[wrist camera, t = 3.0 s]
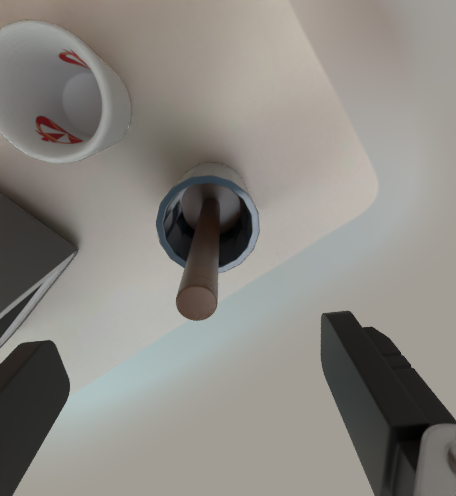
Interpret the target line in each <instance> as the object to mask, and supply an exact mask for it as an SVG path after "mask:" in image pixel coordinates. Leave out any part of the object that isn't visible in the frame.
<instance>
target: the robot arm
mask: <svg viewBox="0 0 456 496" xmlns="http://www.w3.org/2000/svg"><path fill="white" fill-rule="evenodd" d="M321 362H322V368H323V372H324V375H325V378H326V381H327V383H328V385H329V387H330V390H331V392H332V395H333V397H334V399H335V402H336V404H337V407H338V409H339V411H340V414H341V416H342V419H343V421H344V423H345V426H346V428H347V430H348V433H349V435H350V438H351V440H352V442H353V445H354V447H355V450H356V452H357V454H358V457H359V459H360V462H361V464H362V466H363V469H364V471H365V473H366V476H367V478H368V481H369V483H370V485H371V488H372V490H373V492H374V495H375V496H456V420H455V419H454V417H453V416H452V415H451V414H450V413H449V411H448V410H447V409H446V408H445V406H444V405H443V404H442V403H441V401H440V400H439V399H438V398H437V396H436V395H435V394H434V393H433V392H432V390H431V389H430V388H429V387H428V385H427V384H426V383H425V382H424V380H423V379H422V378H421V377H420V376H419V374H418V373H417V372H416V371H415V369H414V368H411V364H410V363H409V362H408V361H407V359H406V358H405V357H404V356H403V355H401V352H400V351H399V350H398V348H397V347H396V346H395V345H394V343H393V342H392V341H391V340H390V338H388V337H387V336H385V335H384V334H382V333H381V332H379V331H378V330H376V329H375V328H373V327H363V328H362V327H361V325H360V324H359V322H358V321H357V320H356V318H355V317H354V315H353V314H352V313H351V312H350V311H341V312H331V313H323V314H322V316H321ZM69 391H70V382H69V378H68V375H67V373H66V370H65V368H64V365H63V363H62V360H61V358H60V355H59V352H58V350H57V347H56V345H55V344H54V342H52V341H50V340H46V341H36V342H26V343H21V344H20V345H18V346H17V347H16V348H15V349H14V350H13V351H12V352H11V353H10V355H9V356H8V357H7V358H6V359H5V360H4V361H3V362H2V363H1V364H0V496H12V495H13V493H14V492H15V490H16V488H17V486H18V485H19V483H20V481H21V479H22V478H23V476H24V474H25V472H26V471H27V469H28V467H29V466H30V464H31V462H32V460H33V459H34V457H35V455H36V453H37V451H38V450H39V448H40V446H41V445H42V443H43V441H44V439H45V438H46V436H47V434H48V433H49V431H50V429H51V427H52V426H53V424H54V422H55V420H56V419H57V417H58V415H59V413H60V412H61V410H62V408H63V407H64V405H65V403H66V401H67V399H68V396H69Z"/></svg>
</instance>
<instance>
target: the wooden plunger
mask: <svg viewBox="0 0 456 496" xmlns="http://www.w3.org/2000/svg"><path fill="white" fill-rule="evenodd" d="M181 207H182V213H183V216H184V218H185V220H186V222H187V223H188V224H189V225H190V226H191V227H192V228H193V229H194V230H195V233H194V236H193V240H192V244H191V247H190V251H189V254H188V258H187V261H186V265H185V269H184V272H183V276H182V279H181V283H180V287H179V290H178V294H177V297H176V306H177V309H178V311H179V312H180V313H181V314H182V315H183V316H184V317H186V318H188V319H190V320H196V321H197V320H204V319H206V318H208V317H210V316H211V315H212V314H213V313H214V312H215V310H216V308H217V298H218V267H219V236H220V234H221V233H224V232H226V231H228V230H229V229H230V228H232V227H233V226H234V224H235V223H236V222H237V220H238V218H239V215H240V212H241V201H240V197H239V196H238V195H237V194H236V193H234V192H233V191H232V190H231V189H229V188H227V187H224V186H220V185H217V184H213V183H205V184H196V185H192V186H190V187H188V188H187V189H186V191H185V193H184V195H183V198H182V205H181Z"/></svg>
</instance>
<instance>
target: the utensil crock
mask: <svg viewBox="0 0 456 496" xmlns="http://www.w3.org/2000/svg"><path fill="white" fill-rule="evenodd" d="M205 183H213V184H217V185H220V186H224V187H227V188H229V189H231V190H232V191H233V192H234V193H236V194H237V195H238V196H239V197H240V201H241V212H240V215H239V218H238V220H237V222H236V223H235V224H234V226H233V227H232V228H230V229H229V230H228V231H226V232H224V233H221V234H220V236H219V267H218V273H222V272H225V271H227V270H229V269H231V268H233V267H235V266H237V265H239V264H240V263H242V262H243V261H244V260H245V259H246V257H247V256H248V255H249V254H250V253H251V252H252V251H253V249H254V247H255V244H256V241H257V238H258V235H259V231H260V230H259V216H258V211H257V209H256V206H255V204H254V202H253V199H252V197H251V195H250V192H249V190H248V188H247V186H246V184H245V182H244V180H243V178H242V177H241V176H240V175H239V174H238V173H237V172H236V171H235V170H234V169H232V168H231V167H229V166H227V165H224V164H221V163H216V162H208V163H202V164H199V165H197V166H195V167H193V168H191V169H190V170H188V171H187V172H186V173H185V174H184V175H183V176H182V177H181V178H180V179H179V181H178V182H177V183H176V184H175V185H174V186H173V187H172V188H171V190H170V191H169V192H168V194H167V195H166V196H165V198H164V199H163V201H162V202H161V203H160V206H159V211H158V215H157V220H156V227H157V232H158V237H159V242H160V244H161V245H162V247H163V248H164V250H165V251H166V253H167V254H168V256H169V257H170V258H171V259H172V260H173V261H175V262H176V263H178V264H179V265H180V266H182V267H183V268H185V265H186V261H187V258H188V254H189V251H190V247H191V244H192V240H193V236H194V233H195V230H194V229H193V228H192V227H191V226H190V225H189V224H188V223H187V222H186V220H185V218H184V216H183V213H182V207H181V205H182V198H183V195H184V193H185V191H186V189H187V188H188V187H190V186H192V185H196V184H205Z"/></svg>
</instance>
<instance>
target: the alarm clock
mask: <svg viewBox="0 0 456 496" xmlns="http://www.w3.org/2000/svg"><path fill="white" fill-rule="evenodd" d="M78 250H79V249H77V248H76V247H75V246H73V245H72V244H70V243H69V242H68V241H66V240H65V239H63V238H62V237H61V236H59V235H58V234H56V233H55V232H54V231H52V230H51V229H49V228H48V227H47V226H45V225H44V224H43V223H41V222H40V221H38V220H37V219H36V218H34V217H33V216H31V215H30V214H29V213H27V212H26V211H24V210H23V209H22V208H20V207H19V206H17V205H16V204H15V203H13V202H12V201H11V200H9V199H8V198H6V197H5V196H4V195H2V194H1V193H0V348H1V347H2V346H3V345H4V344H5V343H6V341H7V340H8V339H9V338H10V337H11V336H12V335H13V334H14V333H15V331H16V330H17V329H18V328H19V327H20V325H21V324H22V323H23V322H24V321H25V319H26V318H27V317H28V315H29V314H30V313H31V312H32V310H33V309H34V308H35V307H36V305H37V304H38V303H39V302H40V300H41V299H42V298H43V297H44V295H45V294H46V293H47V291H48V290H49V289H50V288H51V286H52V285H53V284H54V283H55V281H56V280H57V279H58V278H59V276H60V275H61V274H62V273H63V271H64V270H65V269H66V267H67V266H68V265H69V264H70V262H71V261H72V260H73V258H74V257H75V256H76V254H77V253H78Z"/></svg>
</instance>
